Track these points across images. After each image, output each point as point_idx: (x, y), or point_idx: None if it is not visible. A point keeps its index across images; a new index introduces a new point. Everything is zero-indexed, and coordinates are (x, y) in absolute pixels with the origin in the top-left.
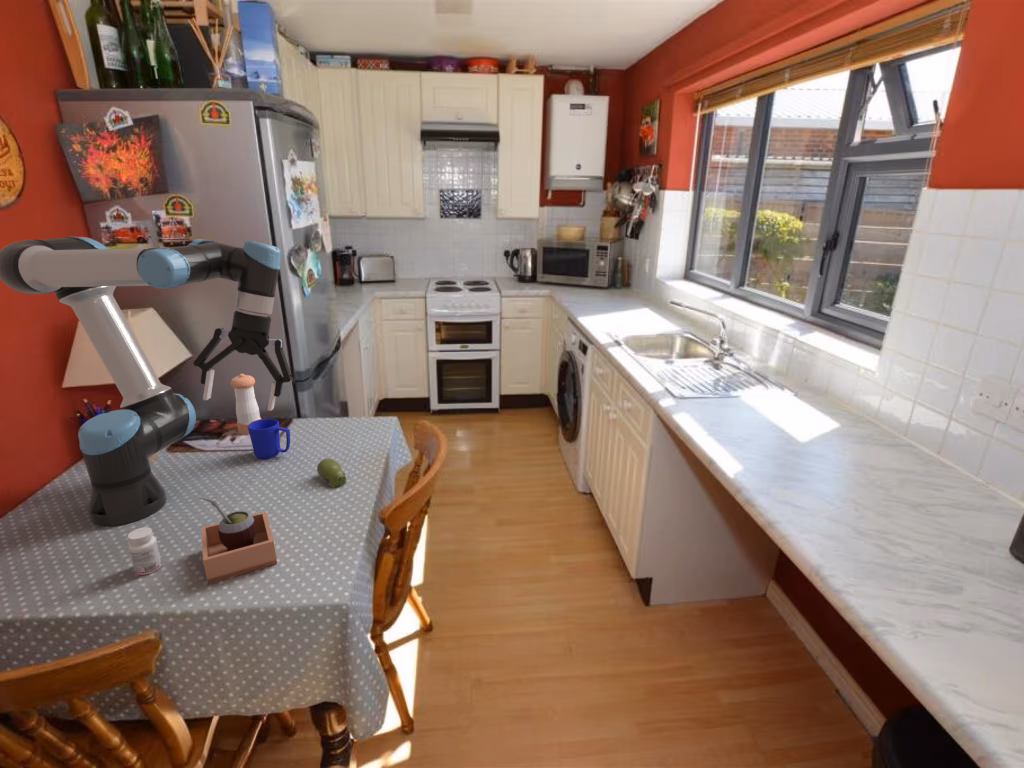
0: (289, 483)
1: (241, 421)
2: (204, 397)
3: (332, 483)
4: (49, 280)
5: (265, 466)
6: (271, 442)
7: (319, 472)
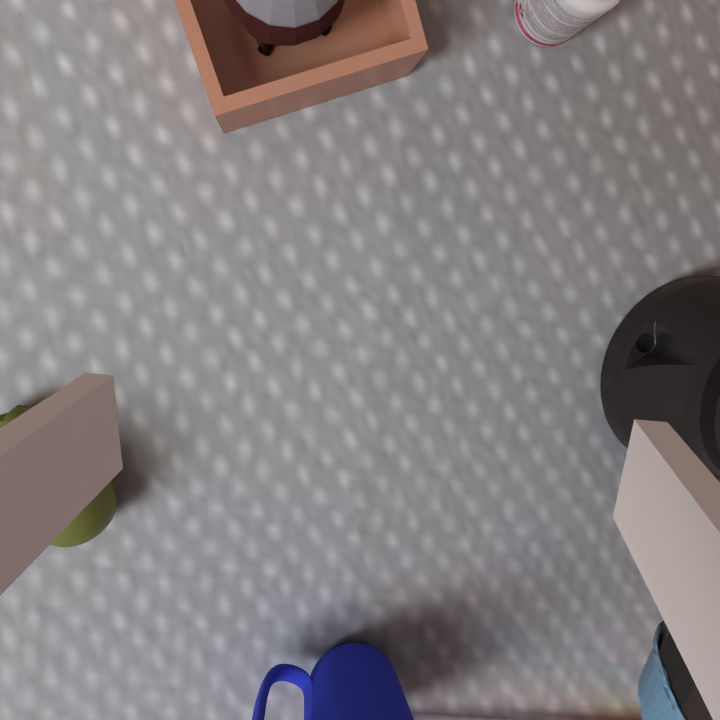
0: (226, 458)
1: None
2: (663, 431)
3: None
4: None
5: (340, 591)
6: (327, 693)
7: None
